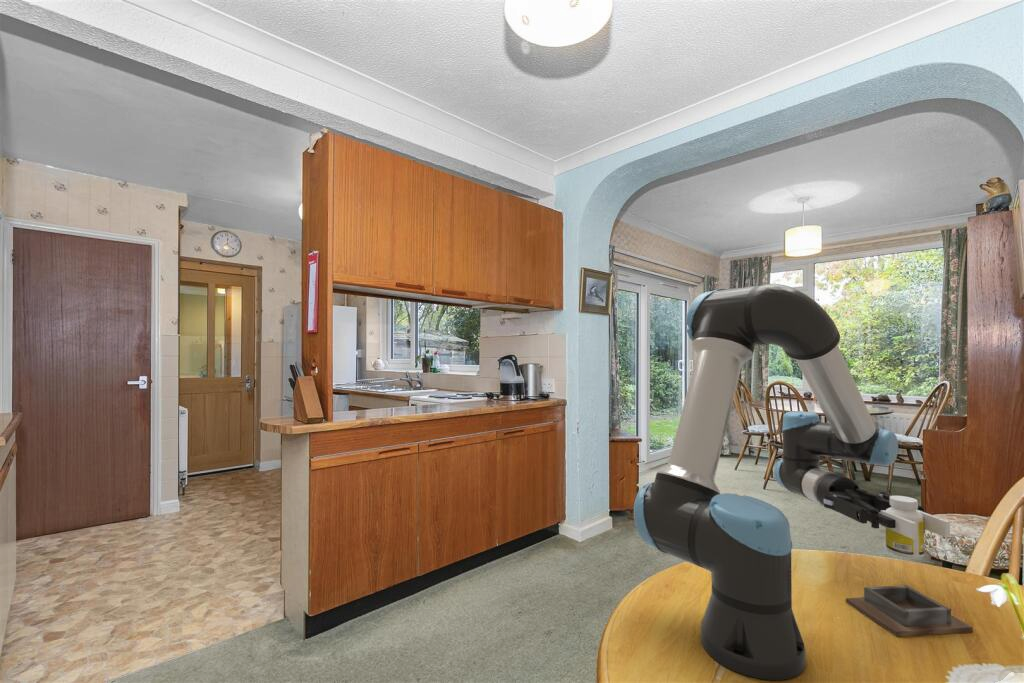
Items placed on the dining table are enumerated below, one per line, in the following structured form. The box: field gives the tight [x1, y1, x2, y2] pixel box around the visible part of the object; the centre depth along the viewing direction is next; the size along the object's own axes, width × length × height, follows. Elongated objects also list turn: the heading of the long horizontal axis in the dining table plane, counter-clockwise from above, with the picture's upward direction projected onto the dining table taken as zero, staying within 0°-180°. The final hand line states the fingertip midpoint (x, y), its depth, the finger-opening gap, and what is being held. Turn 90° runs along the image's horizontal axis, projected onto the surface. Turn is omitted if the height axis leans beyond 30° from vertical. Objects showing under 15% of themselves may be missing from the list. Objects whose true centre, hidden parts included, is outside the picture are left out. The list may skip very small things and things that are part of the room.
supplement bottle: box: [885, 495, 925, 559], centre depth 88 cm, size 5×5×10 cm
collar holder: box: [845, 584, 974, 638], centre depth 88 cm, size 14×11×3 cm
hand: (931, 530), depth 83 cm, fingers closed on supplement bottle, 5 cm apart
